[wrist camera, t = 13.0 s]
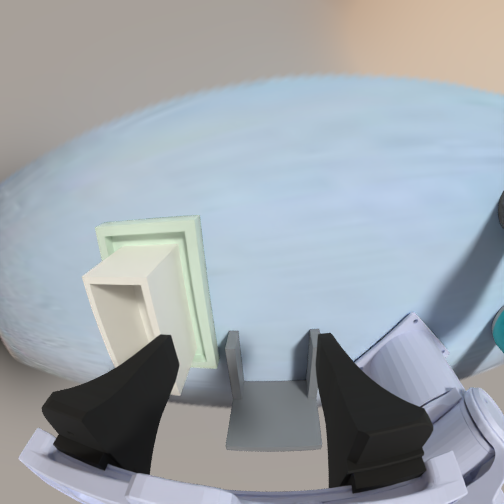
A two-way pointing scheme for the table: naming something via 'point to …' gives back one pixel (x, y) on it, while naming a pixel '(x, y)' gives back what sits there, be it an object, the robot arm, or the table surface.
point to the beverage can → (499, 329)
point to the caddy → (142, 303)
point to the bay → (272, 407)
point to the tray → (193, 267)
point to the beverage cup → (501, 210)
